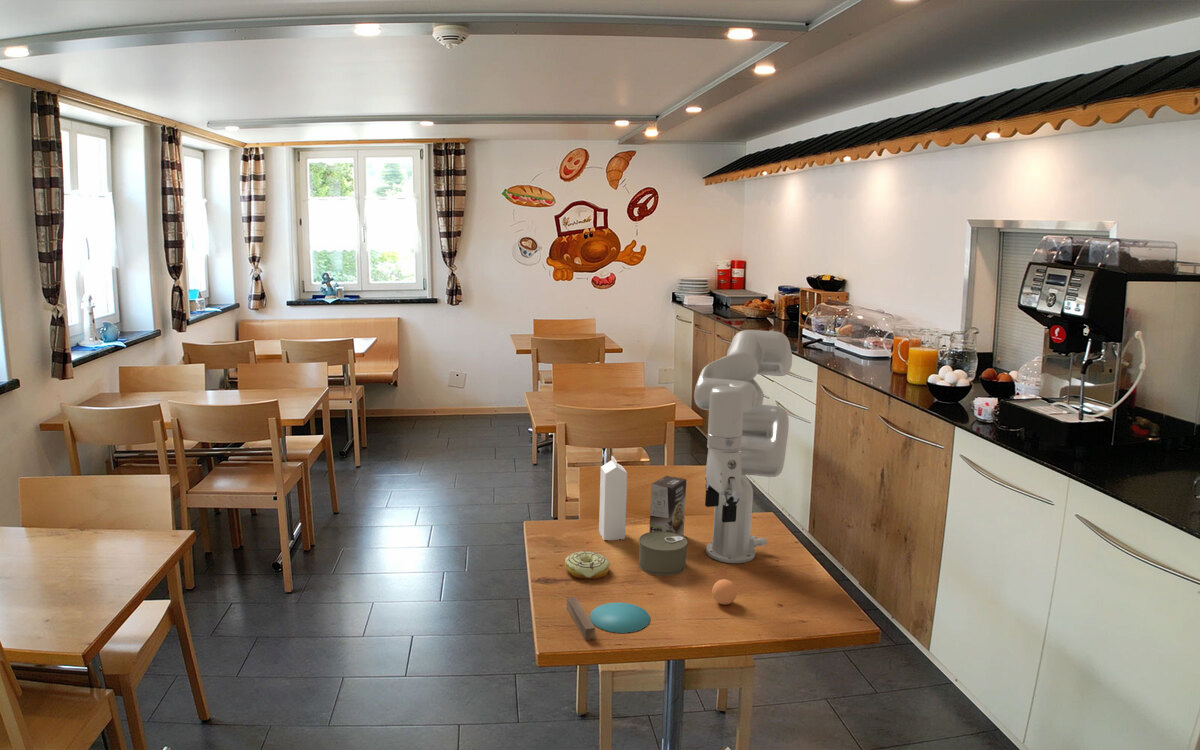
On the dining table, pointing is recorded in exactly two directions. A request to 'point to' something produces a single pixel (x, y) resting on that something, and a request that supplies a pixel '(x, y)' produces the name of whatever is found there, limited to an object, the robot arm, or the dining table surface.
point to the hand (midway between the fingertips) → (720, 513)
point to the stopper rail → (580, 618)
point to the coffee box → (668, 505)
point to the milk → (612, 501)
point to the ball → (724, 591)
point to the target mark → (619, 617)
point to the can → (662, 553)
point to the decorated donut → (587, 565)
